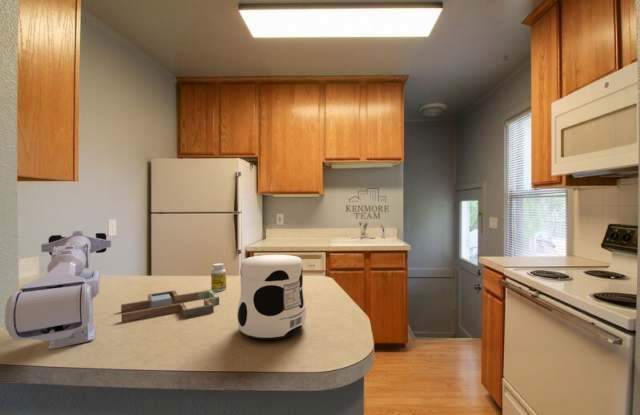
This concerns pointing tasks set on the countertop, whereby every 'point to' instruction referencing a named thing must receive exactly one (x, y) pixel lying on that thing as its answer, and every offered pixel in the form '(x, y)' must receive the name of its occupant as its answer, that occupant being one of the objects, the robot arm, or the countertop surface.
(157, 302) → the block
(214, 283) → the supplement bottle
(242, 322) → the milk container
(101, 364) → the countertop surface
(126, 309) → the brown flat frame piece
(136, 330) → the countertop surface
